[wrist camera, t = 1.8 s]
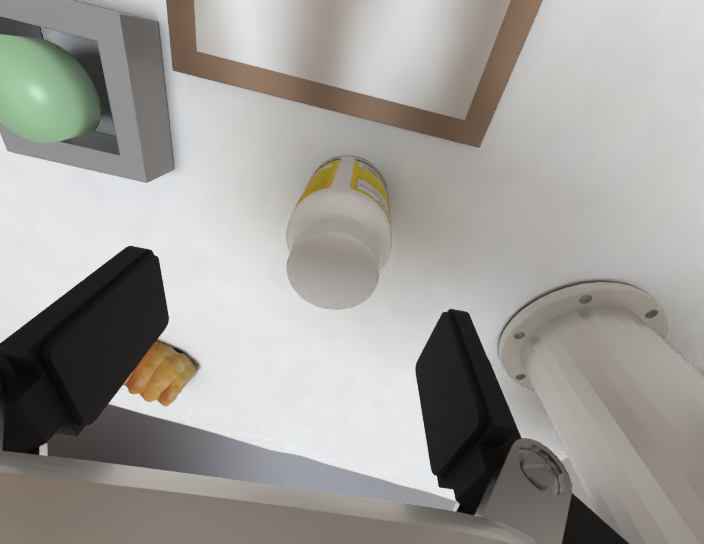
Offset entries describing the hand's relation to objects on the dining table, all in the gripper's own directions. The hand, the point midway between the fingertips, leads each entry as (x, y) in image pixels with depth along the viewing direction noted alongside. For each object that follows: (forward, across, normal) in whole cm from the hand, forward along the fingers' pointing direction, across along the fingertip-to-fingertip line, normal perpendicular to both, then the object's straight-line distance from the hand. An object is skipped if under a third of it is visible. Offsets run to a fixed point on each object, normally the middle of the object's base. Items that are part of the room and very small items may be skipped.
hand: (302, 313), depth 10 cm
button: (+10, +15, -3) cm, 18 cm away
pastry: (+14, +15, +23) cm, 30 cm away
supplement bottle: (+13, -1, 0) cm, 13 cm away
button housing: (+13, +15, -3) cm, 20 cm away
